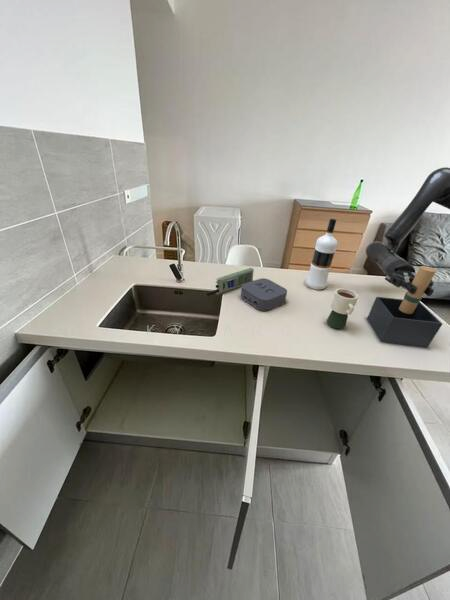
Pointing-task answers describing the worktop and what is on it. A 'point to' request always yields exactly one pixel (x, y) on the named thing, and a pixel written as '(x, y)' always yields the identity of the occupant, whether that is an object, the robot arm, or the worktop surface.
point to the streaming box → (263, 294)
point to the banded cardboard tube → (421, 283)
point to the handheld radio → (232, 281)
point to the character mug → (342, 307)
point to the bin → (402, 323)
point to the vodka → (322, 259)
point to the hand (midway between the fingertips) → (422, 292)
